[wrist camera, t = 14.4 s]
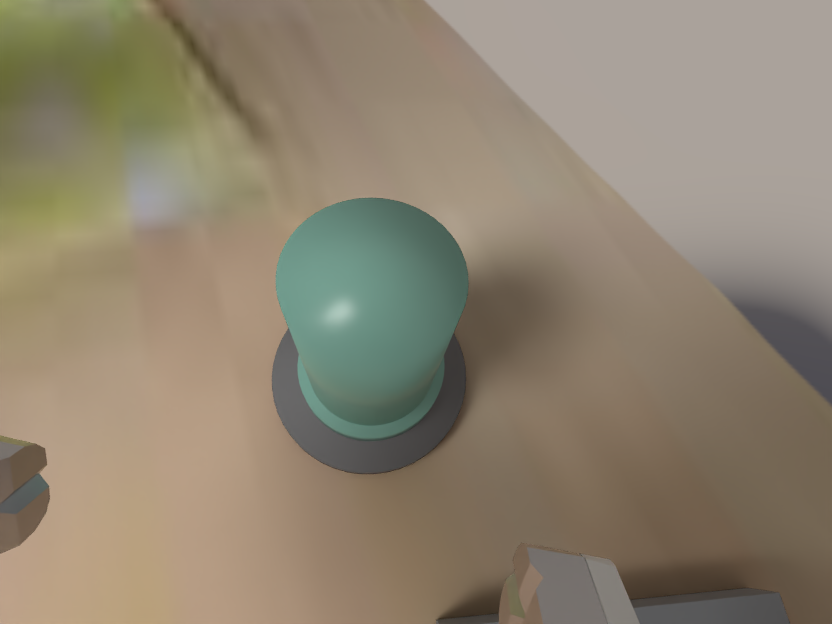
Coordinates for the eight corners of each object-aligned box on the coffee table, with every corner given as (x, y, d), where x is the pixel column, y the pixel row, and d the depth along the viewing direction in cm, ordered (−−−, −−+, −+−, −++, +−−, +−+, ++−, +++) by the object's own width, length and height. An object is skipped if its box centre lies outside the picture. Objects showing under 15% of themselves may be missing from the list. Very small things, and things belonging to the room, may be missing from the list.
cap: (298, 445, 18) (251, 387, 11) (303, 309, 20) (266, 186, 13) (447, 437, 18) (498, 376, 11) (434, 305, 21) (469, 187, 14)
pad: (268, 480, 18) (265, 479, 17) (279, 294, 21) (277, 288, 21) (474, 467, 19) (477, 465, 18) (453, 290, 22) (455, 284, 21)
